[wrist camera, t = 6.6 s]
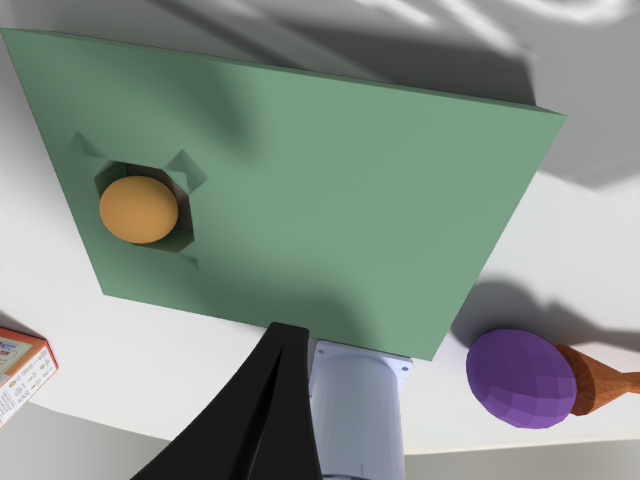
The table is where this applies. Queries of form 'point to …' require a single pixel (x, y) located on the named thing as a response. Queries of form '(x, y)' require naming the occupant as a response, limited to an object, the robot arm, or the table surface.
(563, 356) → the kendama
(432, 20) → the table surface
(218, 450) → the robot arm
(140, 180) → the ball
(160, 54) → the putting mat
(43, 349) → the cracker box
